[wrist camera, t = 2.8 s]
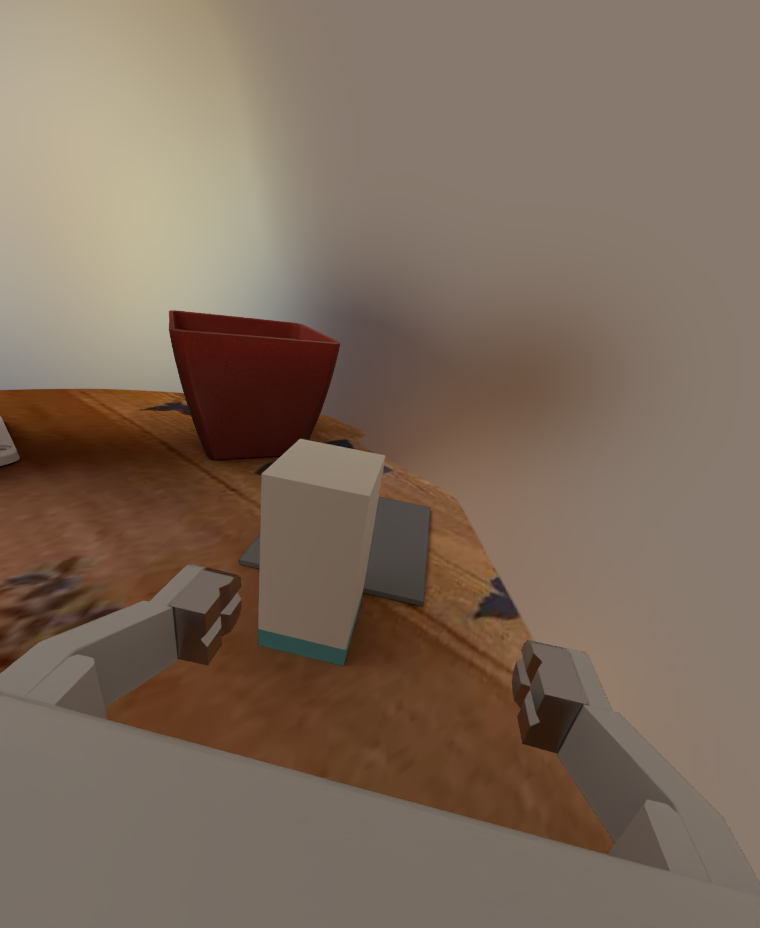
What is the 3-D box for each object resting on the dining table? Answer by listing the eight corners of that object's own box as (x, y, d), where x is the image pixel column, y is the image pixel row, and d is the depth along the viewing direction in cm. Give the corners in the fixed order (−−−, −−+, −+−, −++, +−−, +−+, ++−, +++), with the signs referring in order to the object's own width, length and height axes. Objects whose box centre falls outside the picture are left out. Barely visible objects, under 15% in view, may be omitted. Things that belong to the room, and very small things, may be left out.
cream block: (257, 644, 26) (261, 474, 20) (290, 585, 31) (300, 438, 26) (343, 665, 25) (369, 496, 20) (361, 601, 31) (385, 455, 25)
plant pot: (179, 474, 45) (168, 326, 38) (177, 421, 60) (168, 308, 53) (330, 464, 54) (343, 342, 47) (295, 420, 69) (301, 323, 62)
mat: (422, 606, 31) (424, 601, 31) (239, 564, 32) (239, 559, 32) (429, 510, 46) (430, 507, 45) (302, 484, 47) (303, 481, 47)
